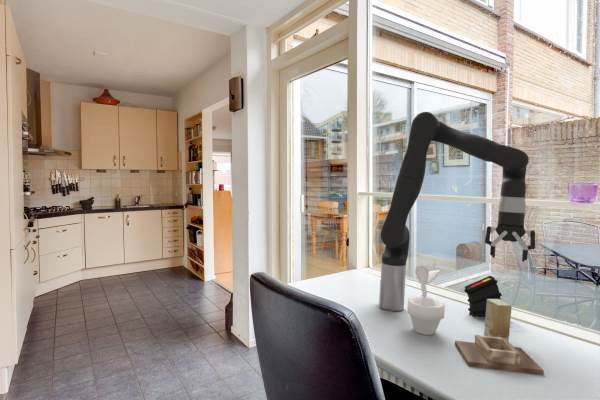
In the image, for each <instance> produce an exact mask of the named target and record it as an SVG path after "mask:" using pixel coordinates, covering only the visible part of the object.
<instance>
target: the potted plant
mask: <svg viewBox="0 0 600 400" xmlns="http://www.w3.org/2000/svg"><path fill="white" fill-rule="evenodd" d="M436 265H437V263H436V259H435V258H434V261H433V264H432V266H433V269H435V267H436ZM414 272H415V275H416V277H417V279H418V282H419V284H420V289H421V294H422V295H420V296H419V295H418V296H412V297H408V298H407V308H406V309H407V310H406V312H407V314H408V315H409V316H410V319H411V323H412V327H413V330H414V331H415V332H416V333H418V334H420V335H425V336H431V335H434V334H436V332H437V329H438V327H439V325H440V323H441V321H442V320H443V319H445V313H446V311H445V310H446V309H445V308H446V304H445V302H442V301H441V300H439V299H435V298H434V297H433V296H432V297H431V296H429V295H428V290H427V287H426V285H428V284H431V283H432V282H433V281H435V280H436V279H437V278H438V276H439V275H438V274H439V273H440V272H441V269H438V270H431V271H429V269H428V268H427V267H426V266H424V265H422V264H419V265H417V266H416V267H415V271H414Z"/></svg>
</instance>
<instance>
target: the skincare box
mask: <svg viewBox="0 0 600 400" xmlns="http://www.w3.org/2000/svg"><path fill="white" fill-rule="evenodd" d="M512 309H513V308H512V304H509V303H507V302H505V301H503V300H502V299H501V300H500V299H487V305H486V317H485V318H484V319H485V320H484V328H483V329H484V331H483V336H493V337H502V338H505V339H506V340H507V341H508V342H509V341H510V330H511V317H512ZM509 343H510V342H509Z"/></svg>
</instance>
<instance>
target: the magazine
mask: <svg viewBox="0 0 600 400" xmlns="http://www.w3.org/2000/svg"><path fill="white" fill-rule="evenodd" d="M498 282H499V281H498V280H497V279H496V278H495V277H494V276H492V275H488V276H486V277H484V278H481V279H479V280H476V281H474V282H472V283H470V284H468V285H465V286H464V289H463V291H464V293H466V294H467V298H468V299H467V302H468V304H469V307H468V308H467V311H468V312H469V313H468V315H469V316H471V315H472V316H473V317H472V316H471V317H472V318H484V317H486V305H487V299H500V300H502V299H501V297H502V296H503V295H502V292H500V290H499V286H498Z"/></svg>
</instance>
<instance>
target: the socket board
mask: <svg viewBox="0 0 600 400" xmlns="http://www.w3.org/2000/svg"><path fill="white" fill-rule="evenodd" d="M454 346H455V347H456V349H457V350H458V352H459V353H460V355H461V357H462V358H463V360H464V361H465V364H466V365H467V366H468V367H473V368H474V367H475V368H482V369H490V370H499V371H506V372H507V371H508V372H515V373H522V372H525V373H524V374H531V373H535V374H534V375H539V374H542V375H541V376H544V372H545V370H544V369H543V368H542V367H541V366H540V365H539V364H538V362H536V361H535V360H534V359H533V358H532V357H531V356H530V355H529V354H528V353H527V352H526V351H524V349H522V348H521V347H517V346H513V345H512V343H511V342H508V341H507V340H506V339H505V338H502V337H493V336H484V334H474V342H471V341H462V340H454Z"/></svg>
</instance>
